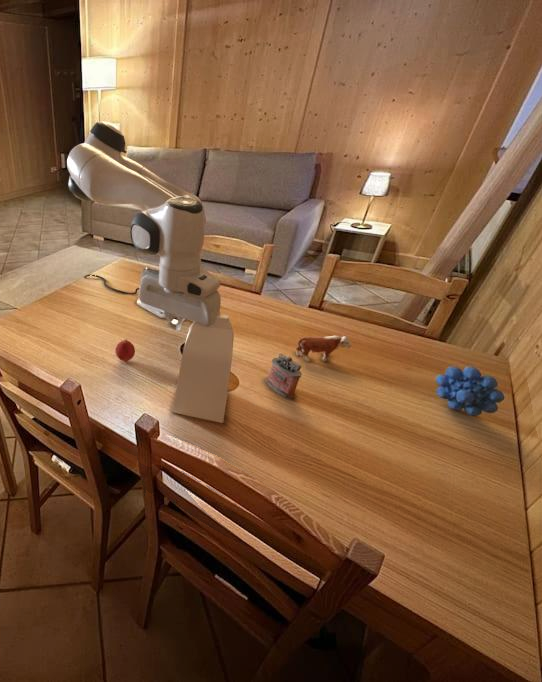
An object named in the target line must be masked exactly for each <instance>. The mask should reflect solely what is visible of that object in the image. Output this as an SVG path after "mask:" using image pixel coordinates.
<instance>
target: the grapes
mask: <svg viewBox="0 0 542 682" xmlns="http://www.w3.org/2000/svg"><path fill="white" fill-rule="evenodd" d="M434 380H435V382H436V384H437V386H439V387H437V388H436V390H435V392H436V395H437V396H438V397H439V399H442V400H446V404H447V406H448V407H449V408H450V409H451V410H454V411H457V412H458V411H461V410H464V412H465V413H466V414H467V415H469V416H472V417H478V416H480V415H482V412H484V413H486V414H494V413H497V412H498V410H499V406H498V404H500V403H502V402H503V401H504V400H505V395H504V392H503V391H501V390H500V389H497V387H498V385H499V382H498V381H497V379H496V378H495V377H493V376H492V375H482V373H481V371H480V370H479V369H478V368H477V367H474V366H466V367H465V368H463V369H461V368H460V367H457V366H455V365H454V366H449V367H447V368H446V369H445V372H444V373H442V374H441V373H440V374H438V375H437V376H435V379H434Z"/></svg>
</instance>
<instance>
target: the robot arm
mask: <svg viewBox="0 0 542 682" xmlns="http://www.w3.org/2000/svg"><path fill="white" fill-rule="evenodd" d="M127 152H128V151H127V149H126V139H125V135H124V134H123V133H122V131H121V129H120V128H119V127H118V126H117V125H115V124H114V123H112V122H109V121H102V120H100V121H97V122H96V123H95V124H94V125H93V126H92V127H91V129H90V130H89V134H88V136H87V137H86V139H85V140H84V142H83V143H79V144H77V145H76V146H74V147H73V148H72V149H71V150H70V151H69V154H68V155H67V159H66V167H67V171H68V173H69V178H68V183H67V185H68V189H69V191H70V192H71V194H73V195H74V196H75V197H76V198H77V199H79V200H81V201H85V202H95V203H97V204H99V205H102V206H116V205H132V206H134V207H135V208H137V209H139V210H140V212H137V213H136V214H135V215H134V217H133V219H132V221H131V224H130V231H129V232H130V239H131V243H132V245H133V246H134V247H135V248H136V250H137V251H139V252H141V253H143V254H147V255H156V256H159V263H158V264H159V267H158V268H153V267H151V266H146V267H143V268H142V270H141V272H140V283H139V287H137V288H136V289H135V291H134V292H127V291H122V290H120V289H116V288H113V287H111V286H110V285H108V284H107V280H106V279H105V278H104V277H102V276H101V275H97V274H93V273H91V274H86V275H84V276H83V278H84V279H86V278H87V277H95V278H98V279H101V280H102V281H103V284H104V286H105V287H106V288H107V289H109V290H111V291H114V292H118V293H121V294H125V295H136V294H137V293H138V298H137V300H136V305H138V306H139V307H141V308H143V309H145V310H146V311H148V312H150V313H152V314H154V315H155V316H157V317H159V318H160V319H166V321H167V326H166V327H167V328H170V329H172V330H175V331H177V332H178V331H180V330H181V329H182V325H183V322H184V321H186V320H188V321H191V322H192V323H193V322H195V321H196V323H198V324H201V325H204V326H206V327H209V326H211V325H213V324H214V323H215V318H216V316H218V315H221V306H222V305H221V302H222V300H221V294H220V291H218V290H219V288H220V287H221V284H222V281H221V279H220V278H219V277H217V276H215V275H214V274H212V273H211V272H210V271H208V270H206V268H204V267H203V266H202V259H201V252H202V249H203V247H204V242H205V235H206V223H207V219H206V217H207V216H206V211H205V207H204V204H203V201H202V200H201V199H200V198H199V197H198V196H197V195H196V194H193V193H191V192H189V191H187V190H185V189H183V188H181V187H179V186H177V185H175V184H173V183H171V182H169V181H166V180H165V179H163V178H162V177H160V176H158V175H157V174H156V173H154V172H152V171H151V170H149V168H146V167H145V166H143V165H142V164H140V163H138V162H137V161H135V160H133V159H131V158H128V157H126V156H125V155H122V154H121V153H124V154H127ZM92 274H93V275H92ZM90 275H92V276H90ZM95 275H96V276H95ZM175 318H176V319H175Z"/></svg>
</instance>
